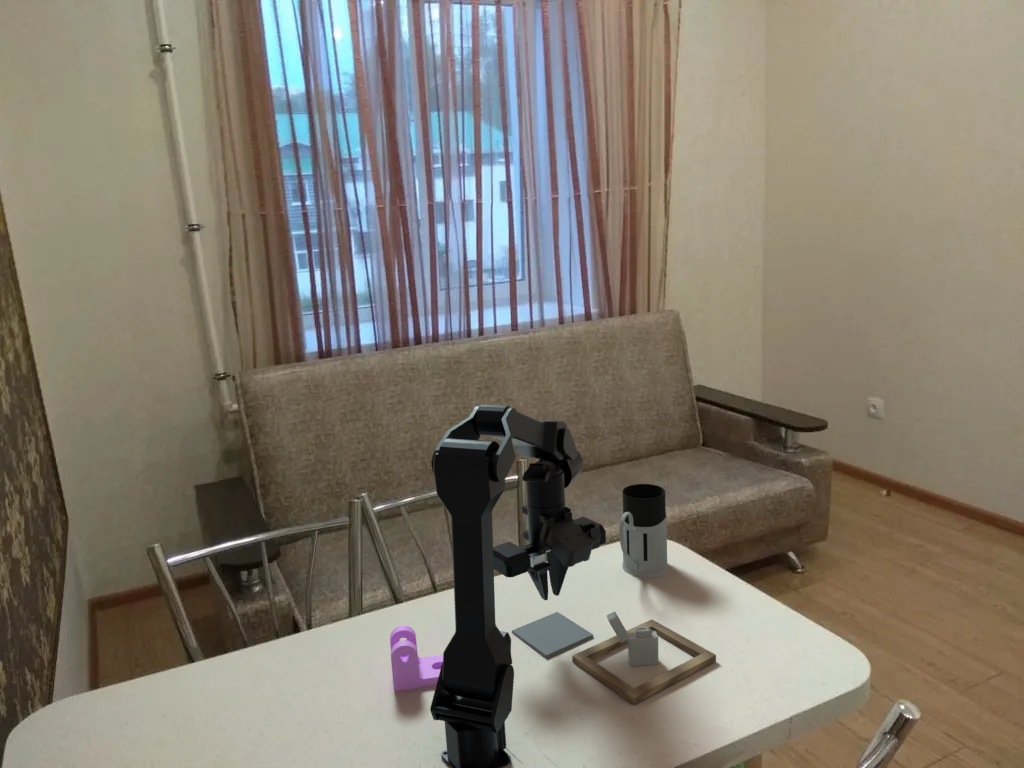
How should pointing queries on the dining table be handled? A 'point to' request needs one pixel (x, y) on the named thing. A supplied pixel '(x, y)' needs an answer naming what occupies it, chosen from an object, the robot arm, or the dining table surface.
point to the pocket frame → (653, 685)
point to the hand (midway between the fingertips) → (550, 597)
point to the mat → (552, 634)
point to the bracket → (411, 662)
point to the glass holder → (644, 531)
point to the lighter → (637, 642)
